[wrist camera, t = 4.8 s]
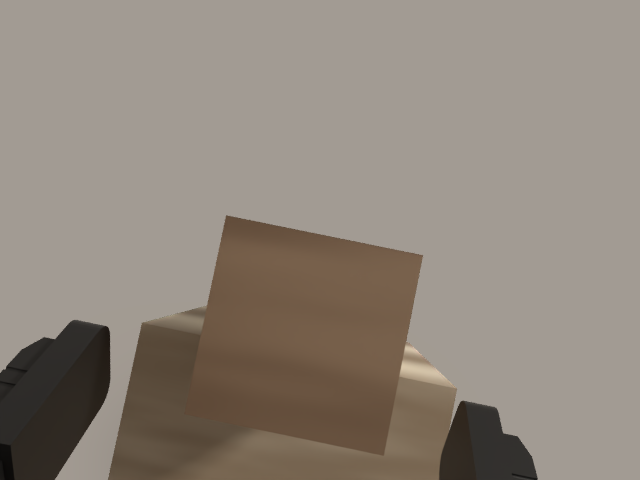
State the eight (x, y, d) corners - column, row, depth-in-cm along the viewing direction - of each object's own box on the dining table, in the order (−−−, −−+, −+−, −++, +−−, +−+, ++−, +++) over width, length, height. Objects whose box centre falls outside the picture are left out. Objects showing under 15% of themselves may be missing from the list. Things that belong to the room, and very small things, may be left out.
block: (278, 316, 35) (291, 251, 36) (343, 329, 35) (356, 264, 36) (184, 413, 11) (226, 215, 12) (383, 455, 11) (423, 255, 12)
